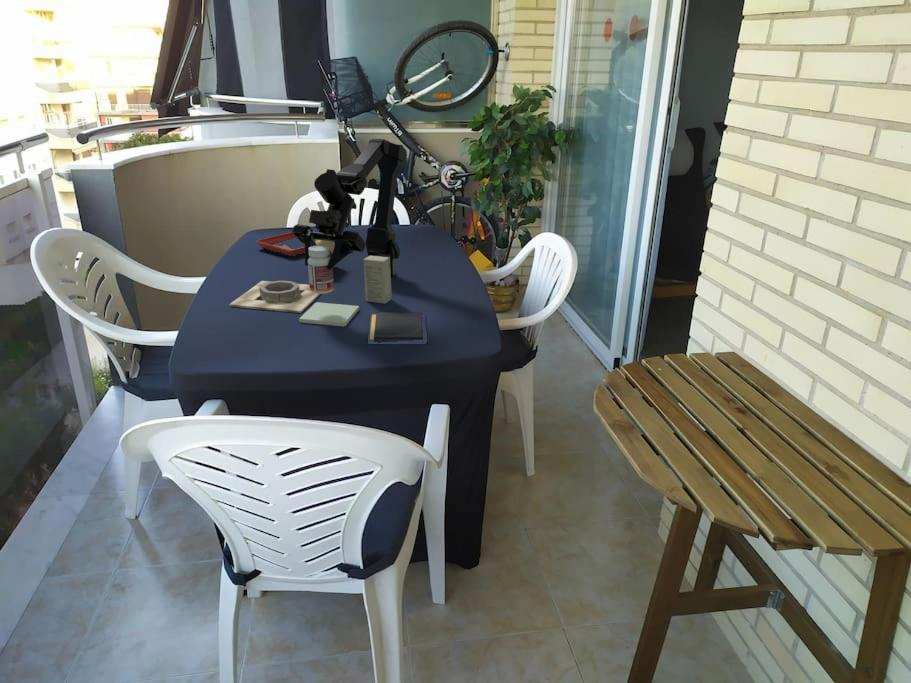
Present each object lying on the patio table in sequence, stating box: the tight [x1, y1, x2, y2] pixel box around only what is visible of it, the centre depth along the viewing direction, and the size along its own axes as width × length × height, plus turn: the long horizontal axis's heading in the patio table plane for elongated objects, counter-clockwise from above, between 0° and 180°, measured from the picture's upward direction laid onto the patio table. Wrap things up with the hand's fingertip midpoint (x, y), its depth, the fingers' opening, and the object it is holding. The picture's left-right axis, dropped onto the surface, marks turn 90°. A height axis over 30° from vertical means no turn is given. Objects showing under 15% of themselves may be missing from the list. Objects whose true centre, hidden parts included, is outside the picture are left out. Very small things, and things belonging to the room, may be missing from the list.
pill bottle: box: [307, 245, 335, 295], centre depth 164 cm, size 6×6×11 cm
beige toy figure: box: [316, 240, 335, 257], centre depth 200 cm, size 10×12×11 cm
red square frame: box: [255, 231, 305, 257], centre depth 223 cm, size 18×18×3 cm
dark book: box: [367, 311, 424, 343], centre depth 162 cm, size 20×2×15 cm
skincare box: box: [363, 255, 393, 304], centre depth 177 cm, size 6×4×12 cm
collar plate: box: [228, 280, 322, 314], centre depth 179 cm, size 20×20×3 cm
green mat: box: [298, 301, 360, 327], centre depth 168 cm, size 12×12×1 cm
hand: (317, 267), depth 162 cm, fingers closed on pill bottle, 6 cm apart
